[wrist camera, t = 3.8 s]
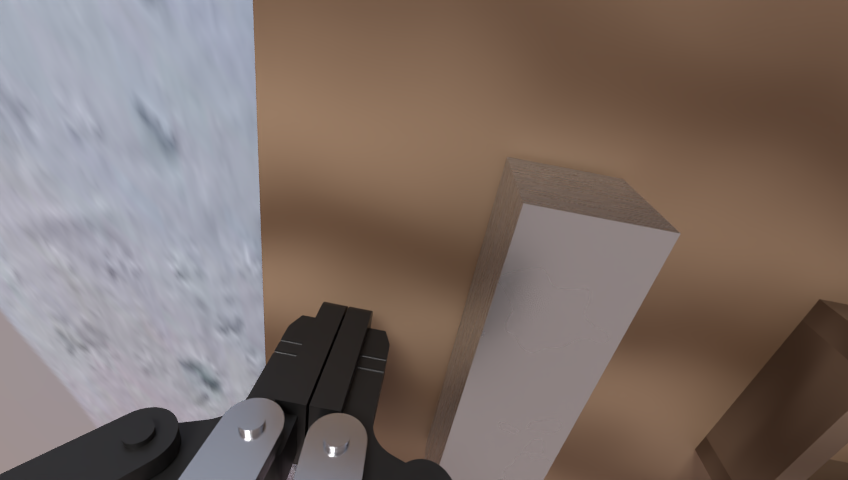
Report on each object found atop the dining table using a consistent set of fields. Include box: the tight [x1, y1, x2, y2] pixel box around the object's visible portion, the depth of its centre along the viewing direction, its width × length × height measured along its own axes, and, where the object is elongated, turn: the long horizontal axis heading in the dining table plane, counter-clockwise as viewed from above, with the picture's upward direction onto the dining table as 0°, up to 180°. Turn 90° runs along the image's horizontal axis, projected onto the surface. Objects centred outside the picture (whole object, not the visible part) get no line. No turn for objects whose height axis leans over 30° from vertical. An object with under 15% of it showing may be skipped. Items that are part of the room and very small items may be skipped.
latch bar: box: [425, 157, 681, 480], centre depth 12 cm, size 12×3×3 cm, turn 170°
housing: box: [253, 0, 848, 480], centre depth 12 cm, size 20×28×4 cm
